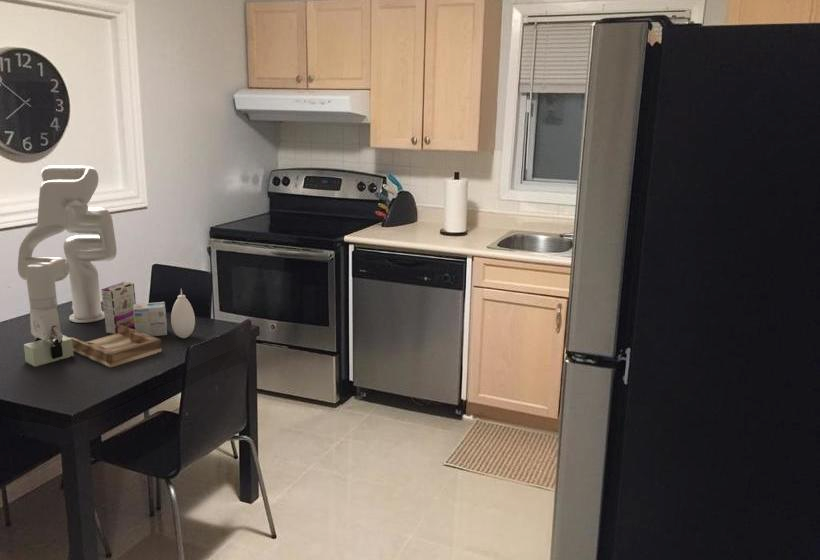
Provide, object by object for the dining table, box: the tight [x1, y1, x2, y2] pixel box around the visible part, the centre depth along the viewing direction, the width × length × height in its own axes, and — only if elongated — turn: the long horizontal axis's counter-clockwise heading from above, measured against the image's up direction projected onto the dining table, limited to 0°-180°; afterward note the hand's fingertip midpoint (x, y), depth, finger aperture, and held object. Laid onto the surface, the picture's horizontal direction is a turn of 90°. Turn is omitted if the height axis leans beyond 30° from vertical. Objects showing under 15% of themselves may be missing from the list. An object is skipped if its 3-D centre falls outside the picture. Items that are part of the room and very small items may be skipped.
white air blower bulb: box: [170, 288, 196, 339], centre depth 228 cm, size 8×8×18 cm
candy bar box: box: [101, 281, 137, 335], centre depth 235 cm, size 11×5×16 cm, turn 161°
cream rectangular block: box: [23, 334, 75, 368], centre depth 207 cm, size 6×12×6 cm, turn 143°
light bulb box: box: [133, 301, 168, 337], centre depth 232 cm, size 11×7×11 cm, turn 111°
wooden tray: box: [69, 325, 163, 368], centre depth 216 cm, size 24×18×4 cm
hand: (49, 353), depth 208 cm, fingers open, 9 cm apart
